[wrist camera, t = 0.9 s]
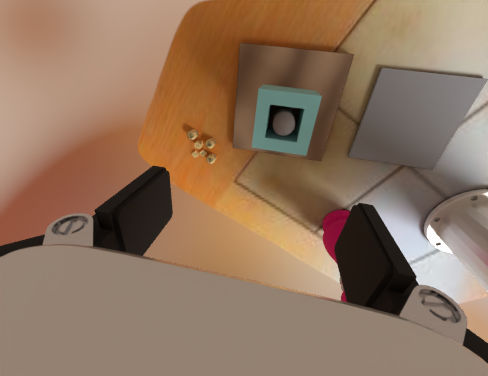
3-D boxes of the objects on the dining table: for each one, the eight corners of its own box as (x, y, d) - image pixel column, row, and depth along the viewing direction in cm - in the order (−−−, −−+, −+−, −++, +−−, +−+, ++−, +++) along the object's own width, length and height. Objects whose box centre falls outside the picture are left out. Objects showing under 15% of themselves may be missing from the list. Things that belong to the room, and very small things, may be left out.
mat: (484, 78, 26) (488, 79, 25) (429, 167, 32) (432, 169, 31) (380, 67, 27) (382, 67, 26) (347, 155, 33) (348, 157, 33)
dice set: (191, 127, 36) (187, 130, 34) (220, 134, 36) (217, 137, 34) (189, 154, 38) (185, 158, 37) (217, 161, 38) (214, 165, 37)
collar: (315, 90, 24) (321, 96, 20) (303, 141, 27) (306, 155, 23) (263, 84, 25) (258, 88, 20) (256, 134, 28) (251, 147, 24)
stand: (350, 54, 27) (386, 49, 17) (319, 157, 34) (332, 194, 24) (242, 43, 28) (219, 33, 19) (234, 144, 35) (215, 174, 26)
